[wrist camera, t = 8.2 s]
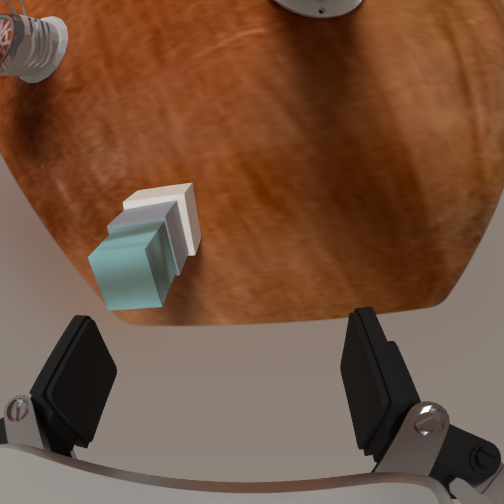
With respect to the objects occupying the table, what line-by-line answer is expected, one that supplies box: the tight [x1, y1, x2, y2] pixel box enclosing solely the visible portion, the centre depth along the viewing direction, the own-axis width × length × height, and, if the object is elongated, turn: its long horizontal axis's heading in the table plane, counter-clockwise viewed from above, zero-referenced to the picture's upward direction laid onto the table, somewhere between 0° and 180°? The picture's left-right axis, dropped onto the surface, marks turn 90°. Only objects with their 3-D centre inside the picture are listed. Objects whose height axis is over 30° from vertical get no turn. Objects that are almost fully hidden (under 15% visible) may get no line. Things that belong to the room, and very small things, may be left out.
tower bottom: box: [123, 183, 201, 256], centre depth 35 cm, size 7×7×5 cm
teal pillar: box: [88, 221, 177, 310], centre depth 25 cm, size 5×5×6 cm
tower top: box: [107, 200, 189, 276], centre depth 30 cm, size 6×6×5 cm
